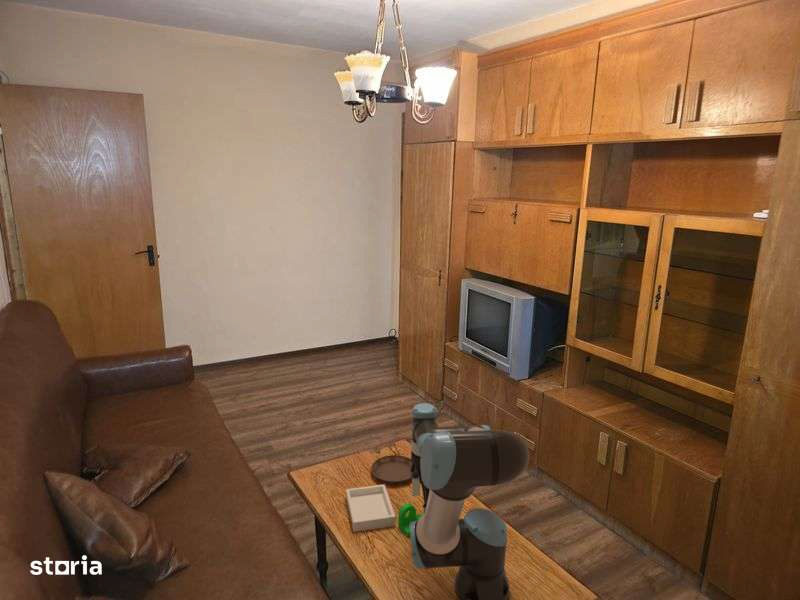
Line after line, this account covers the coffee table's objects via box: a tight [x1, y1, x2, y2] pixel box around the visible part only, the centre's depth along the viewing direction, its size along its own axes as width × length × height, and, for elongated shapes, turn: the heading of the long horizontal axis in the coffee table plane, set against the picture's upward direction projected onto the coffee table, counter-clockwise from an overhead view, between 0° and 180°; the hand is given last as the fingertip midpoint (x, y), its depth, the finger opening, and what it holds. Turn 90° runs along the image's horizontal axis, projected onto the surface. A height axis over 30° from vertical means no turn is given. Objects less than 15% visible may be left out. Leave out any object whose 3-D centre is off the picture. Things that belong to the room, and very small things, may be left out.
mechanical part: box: [398, 502, 423, 538], centre depth 170 cm, size 12×6×8 cm, turn 119°
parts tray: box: [345, 483, 396, 533], centre depth 177 cm, size 18×14×4 cm
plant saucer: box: [370, 454, 413, 485], centre depth 199 cm, size 18×18×3 cm
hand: (421, 508), depth 168 cm, fingers open, 13 cm apart
